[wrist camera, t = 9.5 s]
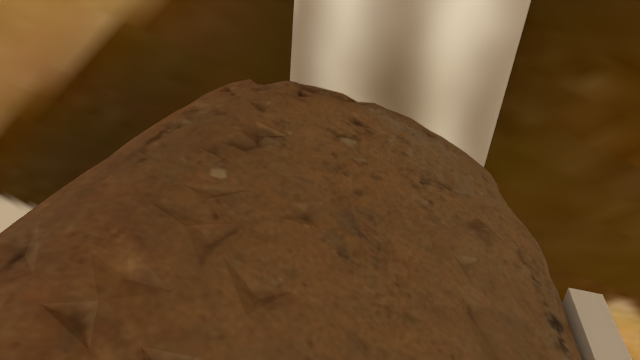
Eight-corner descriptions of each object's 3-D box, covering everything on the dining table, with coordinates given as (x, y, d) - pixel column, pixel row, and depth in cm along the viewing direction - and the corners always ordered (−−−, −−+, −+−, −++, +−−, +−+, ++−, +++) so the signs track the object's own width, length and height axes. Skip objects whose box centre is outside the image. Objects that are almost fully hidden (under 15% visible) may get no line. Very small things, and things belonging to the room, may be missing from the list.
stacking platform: (299, 136, 38) (285, 156, 35) (312, -54, 32) (297, -53, 28) (473, 165, 36) (477, 189, 33) (526, -31, 30) (538, -27, 26)
